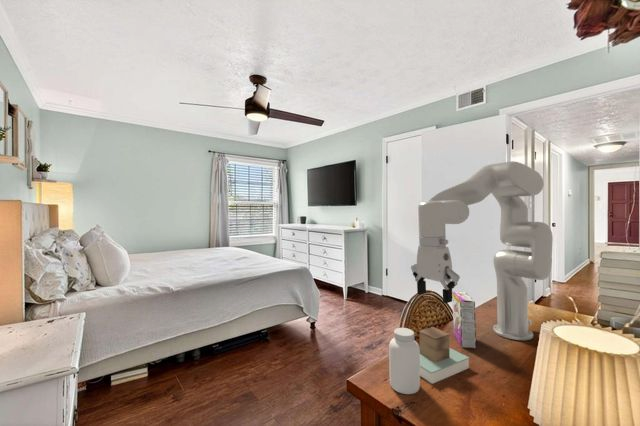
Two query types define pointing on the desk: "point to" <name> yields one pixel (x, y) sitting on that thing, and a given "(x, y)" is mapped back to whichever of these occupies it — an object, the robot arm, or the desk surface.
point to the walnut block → (434, 344)
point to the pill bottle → (404, 362)
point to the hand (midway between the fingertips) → (434, 297)
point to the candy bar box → (464, 319)
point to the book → (443, 366)
